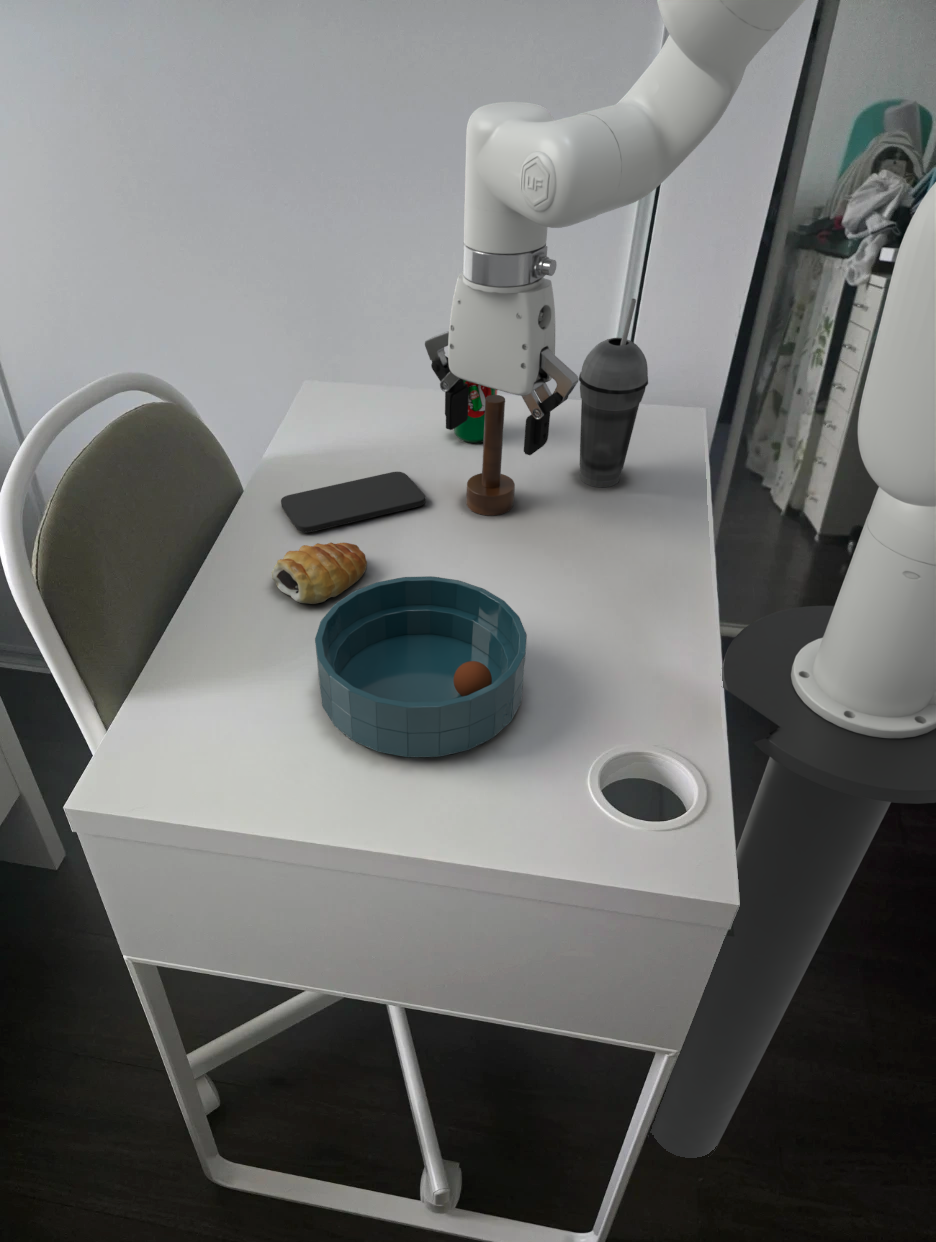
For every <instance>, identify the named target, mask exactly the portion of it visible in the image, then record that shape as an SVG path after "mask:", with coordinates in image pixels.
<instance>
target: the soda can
mask: <svg viewBox="0 0 936 1242" xmlns="http://www.w3.org/2000/svg"><path fill="white" fill-rule="evenodd" d="M464 383H466V384H468V388H469V394H468V419H467V421H465V422H464V423H462V424H461V425H459V426H458V427H456V428H454V429H453V433H454V435H455V436H456V437H457V438H458V439H459V440H460V441H463V442H465V443H469V444H470V443H471V444H477V443H478V444H479V443H483V442H484V420H485V399H486V397H487V396H490V395H498V390H496V389H493V388H489V387H486V386H482V385H479V384H476V383H472V382H469V381H466V380H464Z"/></svg>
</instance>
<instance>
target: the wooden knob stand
mask: <svg viewBox="0 0 936 1242" xmlns="http://www.w3.org/2000/svg"><path fill="white" fill-rule="evenodd" d="M505 408H506V398H505V397H504V396H503V395H501V394H497V395H490V396H487V397H486V399H485V420H484V442H482V443H483V446H482V466H481V468H482V469H481V472H480V473H477V474H474V475H472V476H471V477H470V478H469V479H468V480H467V482H466V497H465V498H466V499H465V504H466V507H467V508H468V509H469V510H470V511H471V512H473V513H475V514H478V515H482V516H500V515H503V514H507V513H508V512H510V511H511V510H512V509H513V507H514V501H515V490H516V489H515V488H516V484H515V481H514V480H513V478H511V477H510V476H508V475H506V474H504V473H502V462H503V461H502V459H503V458H502V457H503V444H504V443H503V442H504V426H505Z"/></svg>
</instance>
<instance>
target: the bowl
mask: <svg viewBox="0 0 936 1242" xmlns="http://www.w3.org/2000/svg"><path fill="white" fill-rule="evenodd" d="M320 620H321V621H320V622H319V625H318V628H317V631H316V635H315V637H314V643H315V645H314V646H315V654H316V655H315V656H316V664H317V672H318V673H317V675H318V683H319V692H320V699H321V706H322V708H323V710H324V712H325V713H326V715H327V717H328V719H330V721H331V723H332V724H333V726H334V727H335V728H336V729H338V731H340V732H341V733H342V734H344V735H345V736H346V737H348V739H350V740H351V741H353V742H355V743H358V744H360V745H362V746H363V747H366V748H369V749H371V750H373V751H375V752H379V753H383V754H387V755H393V756H398V757H404V758H438V757H443V756H444V757H445V756H448V755H452V754H453V755H454V754H458V753H461V752H462V753H463V752H466V751H469V750H472V749H473V748H476V747H478V746H480V745H482V744H484V743H486V742H488V741H490V740H493V739H494V738H495V737H496V736H497V735H498V734H499V733H500V732H501V731H502V730H503V729H505V728H506V727H507V726H508V725H509V724H510V723H511V722H512V721H513V719H514V717H515V715H516V713H517V711H518V710H519V708H520V705H521V704H522V697H523V686H524V675H525V664H526V654H527V636H528V635H527V631H526V629H525V627H524V624H523V622H522V619H521V618H520V616H519V615H518V613H516V611H514V609H513V608H512V607H511V606H510V605H509V604H508V603H507V602H506V601H505V600H504V599H502V598H500V597H499V596H497V595H496V594H494V593H492V592H490V591H489V590H487V589H485V588H483V587H481V586H477V585H475V584H472V583H468V582H465V581H463V580H459V579H453V578H447V577H439V576H430V575H429V576H425V575H424V576H402V577H397V578H391V579H386V580H381V581H377V582H374V583H371V584H369V585H366V586H363V587H361V588H358V589H356V590H354V591H352V592H350V593H349V594H347V595H346V596H344V597H343V598H342V599H340V600H338V601H337V602H336V603H335V604H333V606H331V608H330V609H329V610H328V611H327V613H325V615H324V616H323V617H322V619H320ZM469 661H476V662H480V663H482V664H484V665H485V666H486V667H487V668H488V669H489V671H490V673H491V677H492V684H491V685H489V686H487V687H485V688H482V689H480V690H478V691H476V692H474V693H472V694H470V695H467V696H461V695H460V694H459V693H458V692H457V691H456V689H455V686H454V674H455V672H456V670H457V669H458V668H459V666H461V665H462V664H464V663H466V662H469Z"/></svg>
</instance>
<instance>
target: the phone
mask: <svg viewBox="0 0 936 1242" xmlns="http://www.w3.org/2000/svg"><path fill="white" fill-rule="evenodd" d="M280 503H281V504H280V505H281V508H282V510H283V512H284V513H285V515H286V516H287V517H288V519H289V520H290V522H291V524H292V525H293V526H294V528H295V529H296V530H297V531H298V532H300V533H313V532H317V531H321V530H325V529H329V528H333V527H338V526H342V525H347V524H351V523H355V522H360V521H363V520H368V519H372V518H377V517H381V516H385V515H389V514H393V513H398V512H403V511H406V510H410V509H415V508H419V507H422V506H424V505H425V503H426V494H425V493H424V492H423V491H422V489H420V488H419V486H418V485H416V483H415V482H414V481H413V480H412V479H411V478H410V477H409V475H408V474H407V473H405V472H403V471H391V472H387V473H381V474H377V475H372V476H368V477H364V478H360V479H355V480H350V481H345V482H341V483H336V484H332V485H328V486H327V485H326V486H324V487H319V488H314V489H309V490H305V491H300V492H296V493H291V494H288V495H285V496H283V497H282V498H280Z"/></svg>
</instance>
